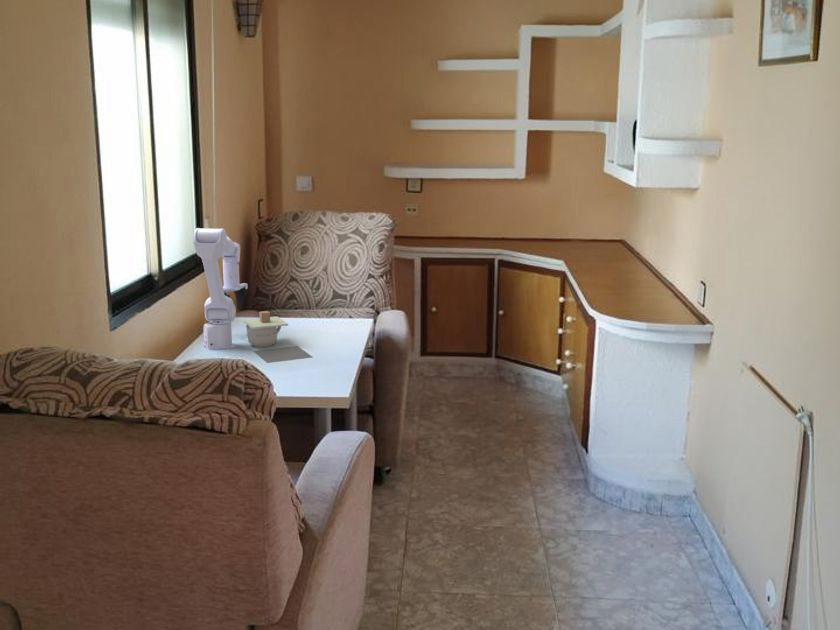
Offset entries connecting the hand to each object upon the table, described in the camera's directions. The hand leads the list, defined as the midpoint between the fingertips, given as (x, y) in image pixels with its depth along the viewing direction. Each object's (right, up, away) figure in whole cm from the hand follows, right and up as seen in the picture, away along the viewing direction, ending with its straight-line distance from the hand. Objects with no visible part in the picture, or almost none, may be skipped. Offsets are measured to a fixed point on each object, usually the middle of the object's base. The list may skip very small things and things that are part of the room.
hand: (232, 310), depth 313 cm
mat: (+23, -15, -24) cm, 36 cm away
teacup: (+14, -12, -10) cm, 22 cm away
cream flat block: (+14, -5, -12) cm, 19 cm away
